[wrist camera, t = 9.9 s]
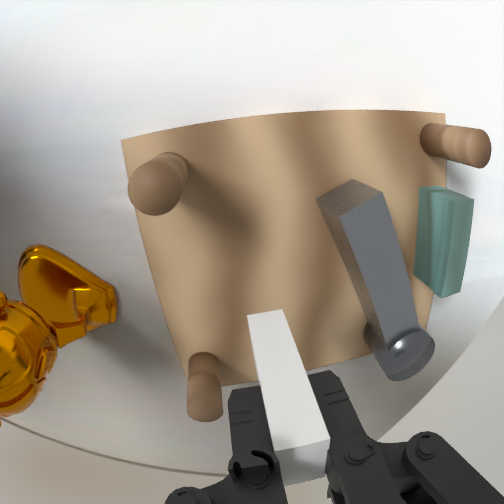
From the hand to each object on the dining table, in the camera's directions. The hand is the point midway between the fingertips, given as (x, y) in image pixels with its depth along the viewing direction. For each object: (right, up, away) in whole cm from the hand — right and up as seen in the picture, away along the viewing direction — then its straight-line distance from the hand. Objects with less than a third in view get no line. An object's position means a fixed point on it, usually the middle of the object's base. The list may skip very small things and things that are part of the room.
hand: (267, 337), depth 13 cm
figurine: (-16, 0, +8) cm, 18 cm away
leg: (+8, +2, +8) cm, 12 cm away
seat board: (+4, +4, +9) cm, 10 cm away
